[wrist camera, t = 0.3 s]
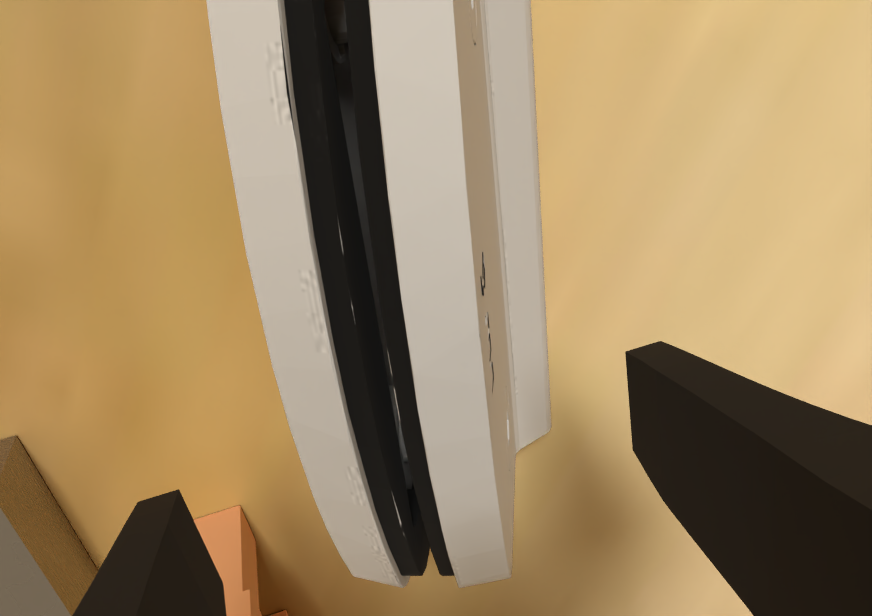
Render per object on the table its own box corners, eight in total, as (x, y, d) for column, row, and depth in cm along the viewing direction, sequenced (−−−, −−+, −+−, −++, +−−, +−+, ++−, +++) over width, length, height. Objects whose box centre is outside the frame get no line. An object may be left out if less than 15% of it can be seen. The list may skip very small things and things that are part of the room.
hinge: (550, 405, 25) (565, 688, 16) (408, 410, 26) (350, 683, 17) (520, -202, 17) (519, -283, 8) (313, -173, 17) (109, -218, 9)
